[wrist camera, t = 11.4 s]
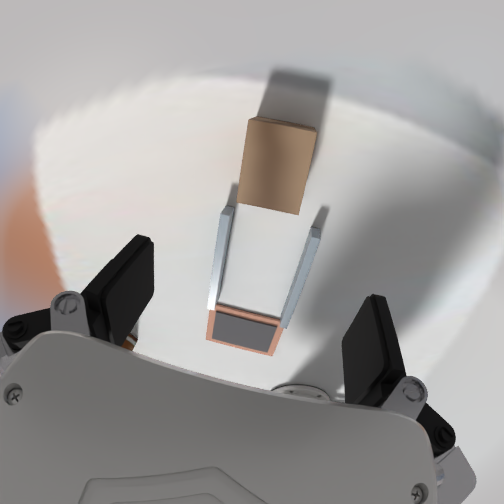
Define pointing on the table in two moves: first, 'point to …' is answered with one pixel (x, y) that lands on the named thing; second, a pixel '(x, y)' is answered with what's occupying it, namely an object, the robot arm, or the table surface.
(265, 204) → the walnut block
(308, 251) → the channel
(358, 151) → the table surface
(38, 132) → the table surface
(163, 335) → the table surface
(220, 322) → the pad
